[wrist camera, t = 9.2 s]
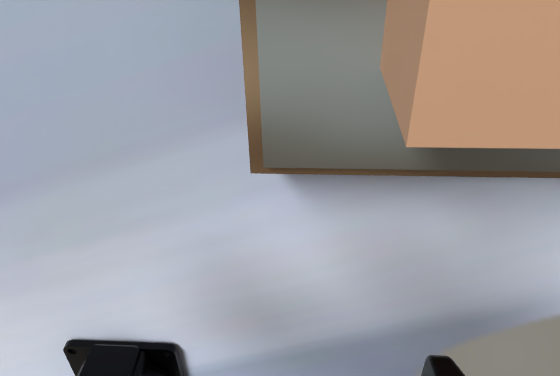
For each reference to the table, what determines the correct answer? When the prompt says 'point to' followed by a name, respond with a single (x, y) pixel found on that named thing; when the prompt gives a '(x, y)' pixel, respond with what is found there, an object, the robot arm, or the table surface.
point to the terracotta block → (474, 72)
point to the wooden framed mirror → (343, 99)
